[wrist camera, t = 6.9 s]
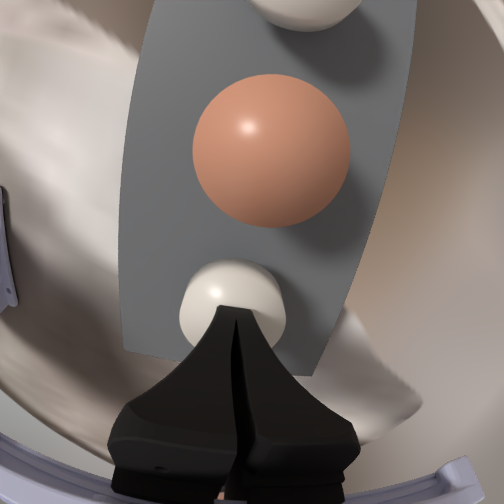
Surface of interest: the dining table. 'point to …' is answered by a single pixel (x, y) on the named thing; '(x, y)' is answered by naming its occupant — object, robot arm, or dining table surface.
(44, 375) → the dining table surface
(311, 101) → the middle button
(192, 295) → the inner button
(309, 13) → the outer button
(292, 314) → the grey flat board
